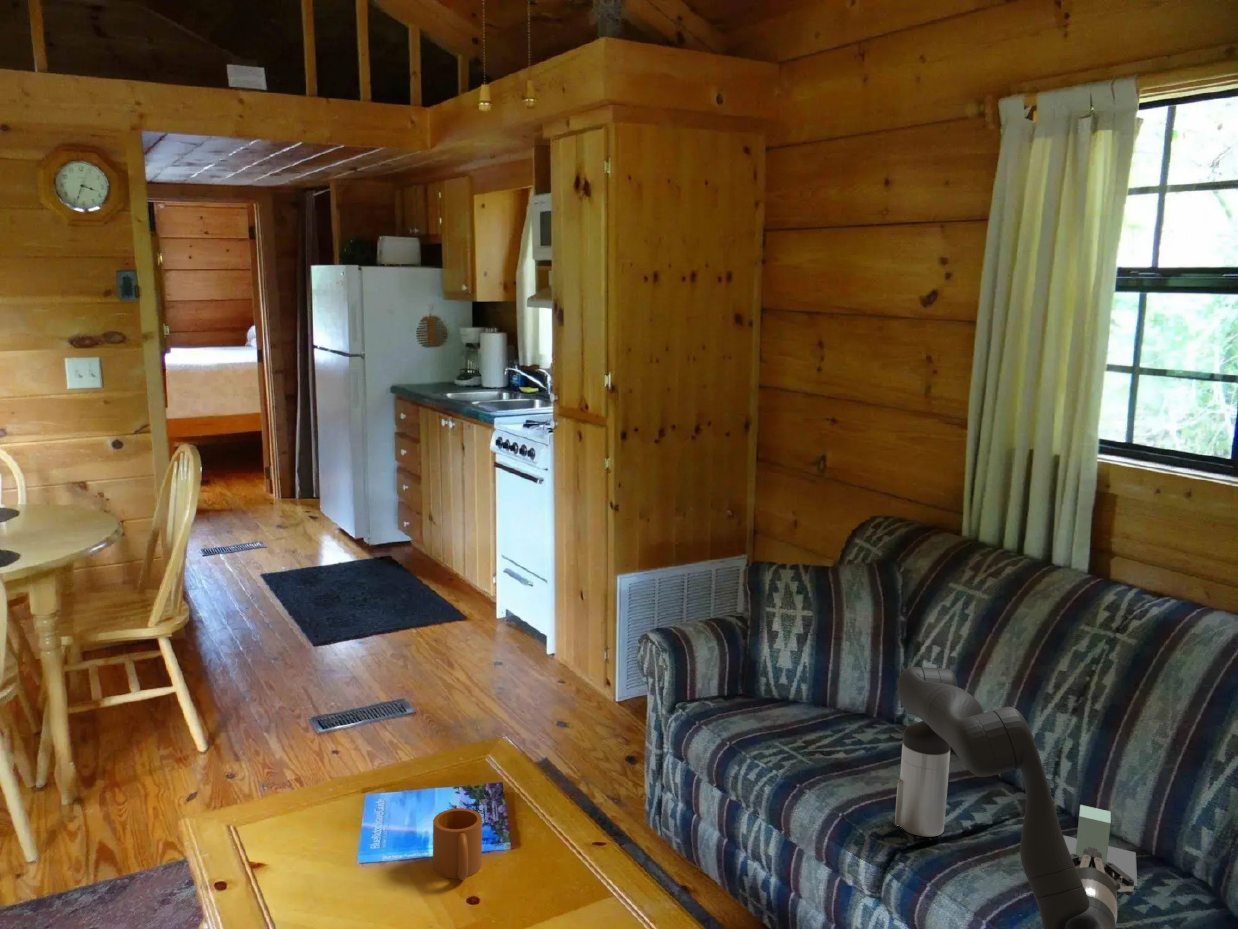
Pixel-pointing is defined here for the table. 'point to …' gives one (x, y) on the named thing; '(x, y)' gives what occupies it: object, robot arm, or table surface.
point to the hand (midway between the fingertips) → (1092, 853)
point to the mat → (1113, 858)
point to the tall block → (1093, 830)
